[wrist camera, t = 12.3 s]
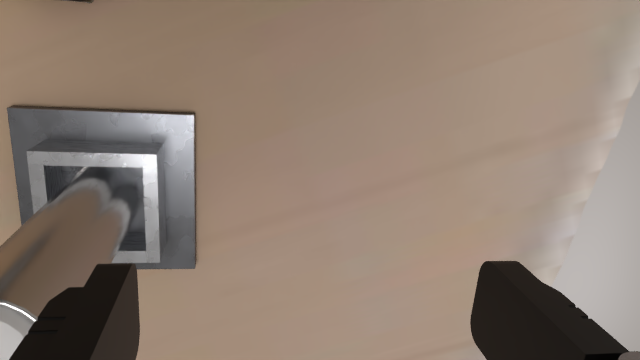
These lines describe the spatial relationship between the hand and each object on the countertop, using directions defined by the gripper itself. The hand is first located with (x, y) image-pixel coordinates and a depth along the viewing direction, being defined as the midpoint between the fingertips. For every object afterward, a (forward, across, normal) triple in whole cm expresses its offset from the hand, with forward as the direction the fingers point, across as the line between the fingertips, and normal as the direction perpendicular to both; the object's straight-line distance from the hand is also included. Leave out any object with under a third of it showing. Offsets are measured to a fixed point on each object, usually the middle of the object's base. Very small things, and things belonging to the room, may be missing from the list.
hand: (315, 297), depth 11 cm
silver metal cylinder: (+37, +14, +11) cm, 41 cm away
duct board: (+38, +14, +11) cm, 42 cm away
